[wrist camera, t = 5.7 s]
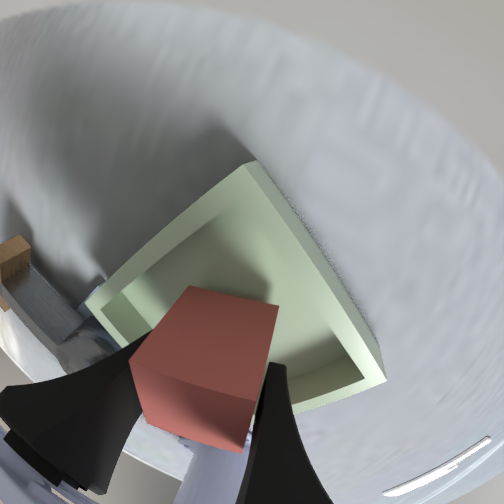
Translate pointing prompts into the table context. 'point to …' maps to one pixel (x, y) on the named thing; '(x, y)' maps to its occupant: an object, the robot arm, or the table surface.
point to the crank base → (83, 308)
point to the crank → (49, 312)
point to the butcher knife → (435, 471)
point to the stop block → (205, 367)
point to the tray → (251, 286)
